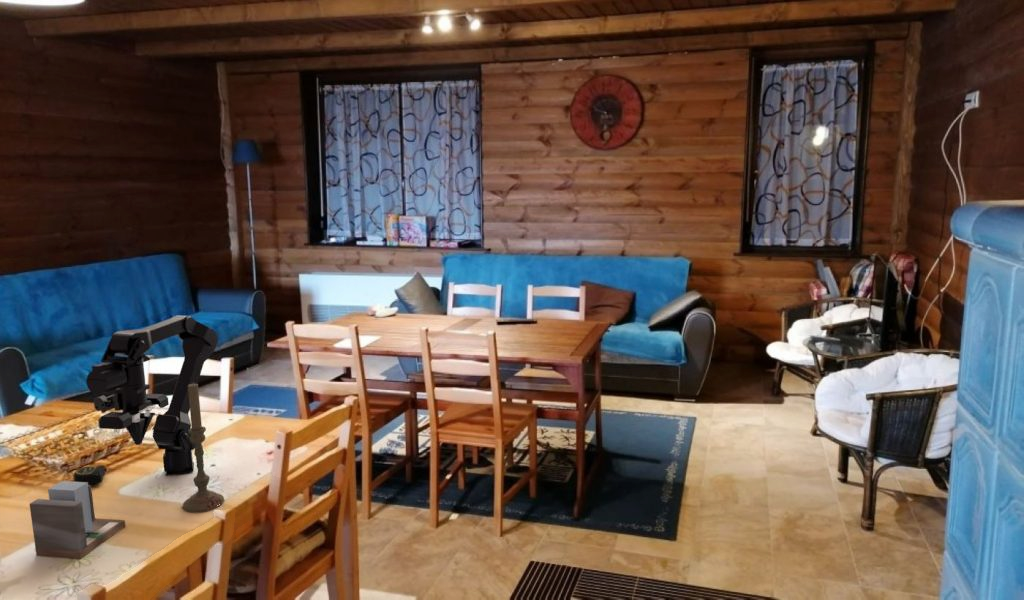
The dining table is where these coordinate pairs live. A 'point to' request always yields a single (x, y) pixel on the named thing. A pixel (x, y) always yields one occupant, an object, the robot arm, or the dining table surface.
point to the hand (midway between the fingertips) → (138, 444)
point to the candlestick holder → (199, 460)
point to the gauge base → (67, 529)
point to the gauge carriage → (76, 499)
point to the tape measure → (90, 474)
